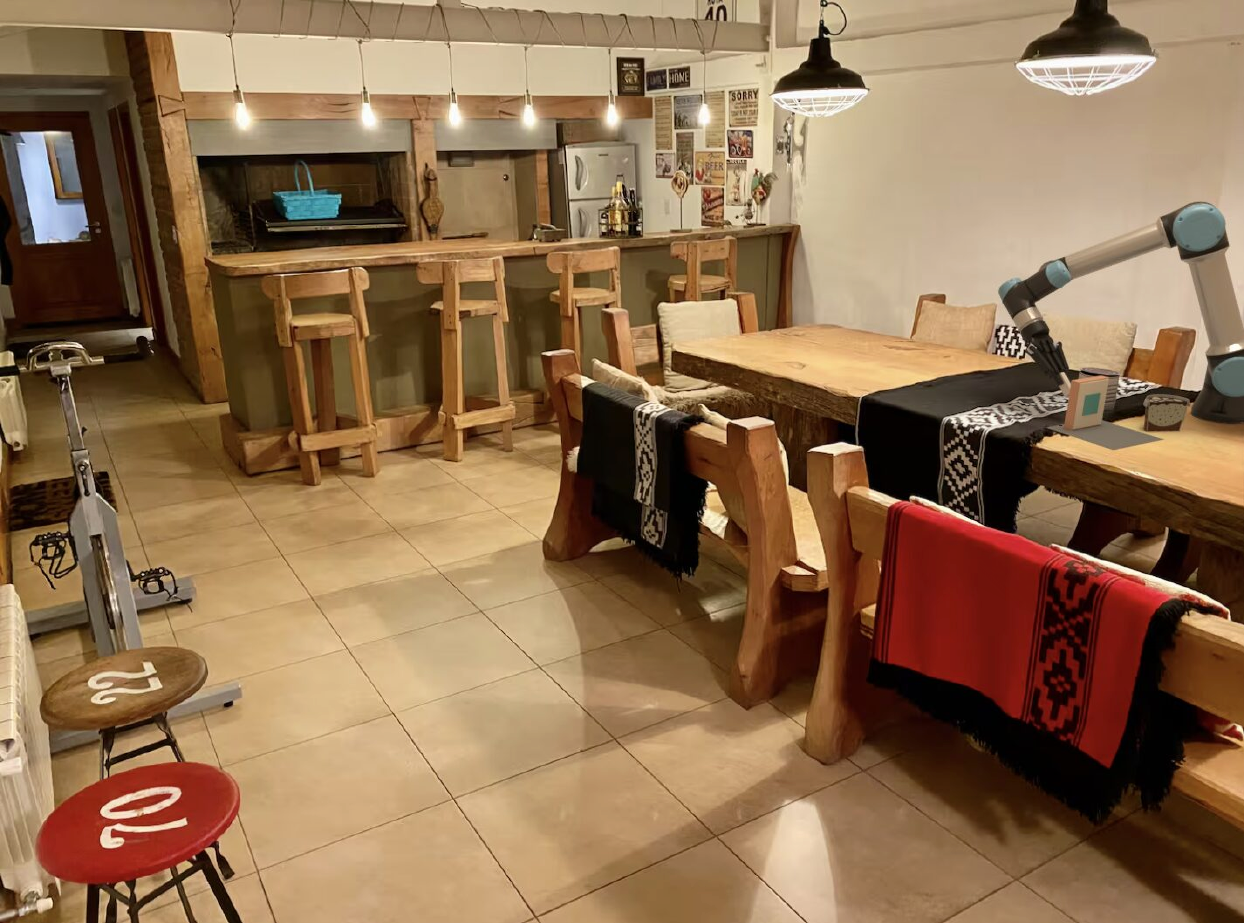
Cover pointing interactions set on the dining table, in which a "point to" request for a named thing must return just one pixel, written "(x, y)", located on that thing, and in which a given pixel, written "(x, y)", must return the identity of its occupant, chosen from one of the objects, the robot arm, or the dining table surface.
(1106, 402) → the can
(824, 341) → the dining table surface
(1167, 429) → the food container
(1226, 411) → the robot arm
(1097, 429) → the mat
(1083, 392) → the tile
